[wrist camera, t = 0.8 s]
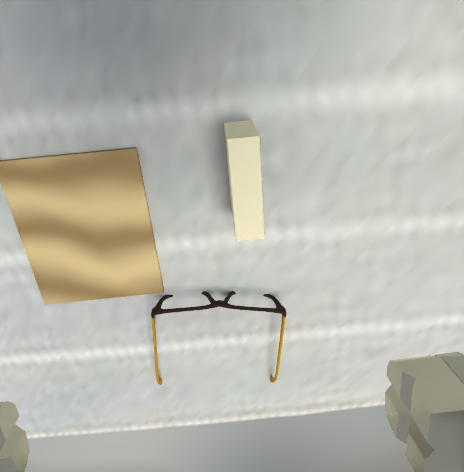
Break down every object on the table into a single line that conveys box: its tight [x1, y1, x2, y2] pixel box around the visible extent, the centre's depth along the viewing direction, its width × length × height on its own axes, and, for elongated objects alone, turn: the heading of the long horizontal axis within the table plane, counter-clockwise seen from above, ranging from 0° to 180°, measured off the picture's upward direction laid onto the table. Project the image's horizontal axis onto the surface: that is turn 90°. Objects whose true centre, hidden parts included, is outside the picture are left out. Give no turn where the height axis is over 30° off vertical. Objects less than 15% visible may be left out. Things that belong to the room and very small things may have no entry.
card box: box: [224, 120, 265, 242], centre depth 36 cm, size 9×3×6 cm, turn 5°
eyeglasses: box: [151, 291, 286, 385], centre depth 47 cm, size 14×14×4 cm
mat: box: [0, 148, 164, 305], centre depth 41 cm, size 16×13×1 cm
